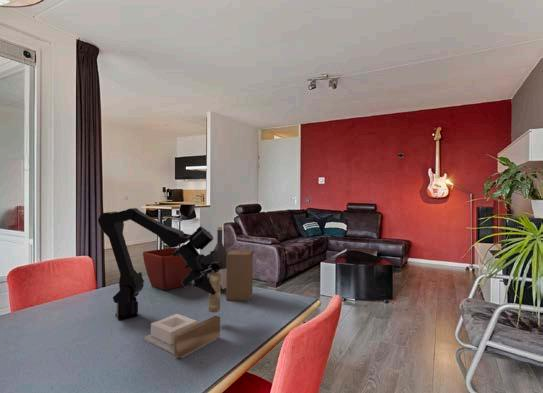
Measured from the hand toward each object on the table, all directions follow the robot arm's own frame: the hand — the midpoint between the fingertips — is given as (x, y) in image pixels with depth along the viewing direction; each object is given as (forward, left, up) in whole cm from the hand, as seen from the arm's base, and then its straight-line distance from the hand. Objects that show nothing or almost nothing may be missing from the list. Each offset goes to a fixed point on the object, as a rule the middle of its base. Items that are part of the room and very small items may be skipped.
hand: (218, 292), depth 107 cm
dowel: (-1, +1, -7) cm, 7 cm away
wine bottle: (+17, +33, -11) cm, 39 cm away
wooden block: (+20, +19, -11) cm, 30 cm away
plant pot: (0, +53, -11) cm, 54 cm away
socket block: (-16, -1, -11) cm, 19 cm away
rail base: (-15, -4, -11) cm, 19 cm away
